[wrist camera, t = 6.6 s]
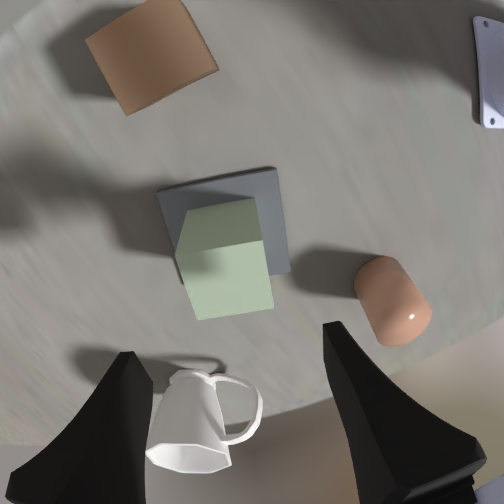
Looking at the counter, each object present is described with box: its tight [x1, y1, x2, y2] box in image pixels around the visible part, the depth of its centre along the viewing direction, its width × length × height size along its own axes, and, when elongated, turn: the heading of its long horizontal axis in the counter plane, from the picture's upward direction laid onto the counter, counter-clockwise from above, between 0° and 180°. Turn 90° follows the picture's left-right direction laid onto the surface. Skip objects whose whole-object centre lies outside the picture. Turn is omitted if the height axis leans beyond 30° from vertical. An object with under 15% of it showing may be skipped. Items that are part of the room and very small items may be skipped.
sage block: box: [175, 198, 274, 320], centre depth 18 cm, size 4×4×5 cm
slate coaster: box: [156, 168, 291, 276], centre depth 20 cm, size 7×7×1 cm
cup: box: [145, 369, 262, 473], centre depth 24 cm, size 7×10×8 cm
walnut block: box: [85, 0, 219, 116], centre depth 12 cm, size 4×4×5 cm
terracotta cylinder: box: [353, 256, 432, 347], centre depth 21 cm, size 4×4×5 cm
